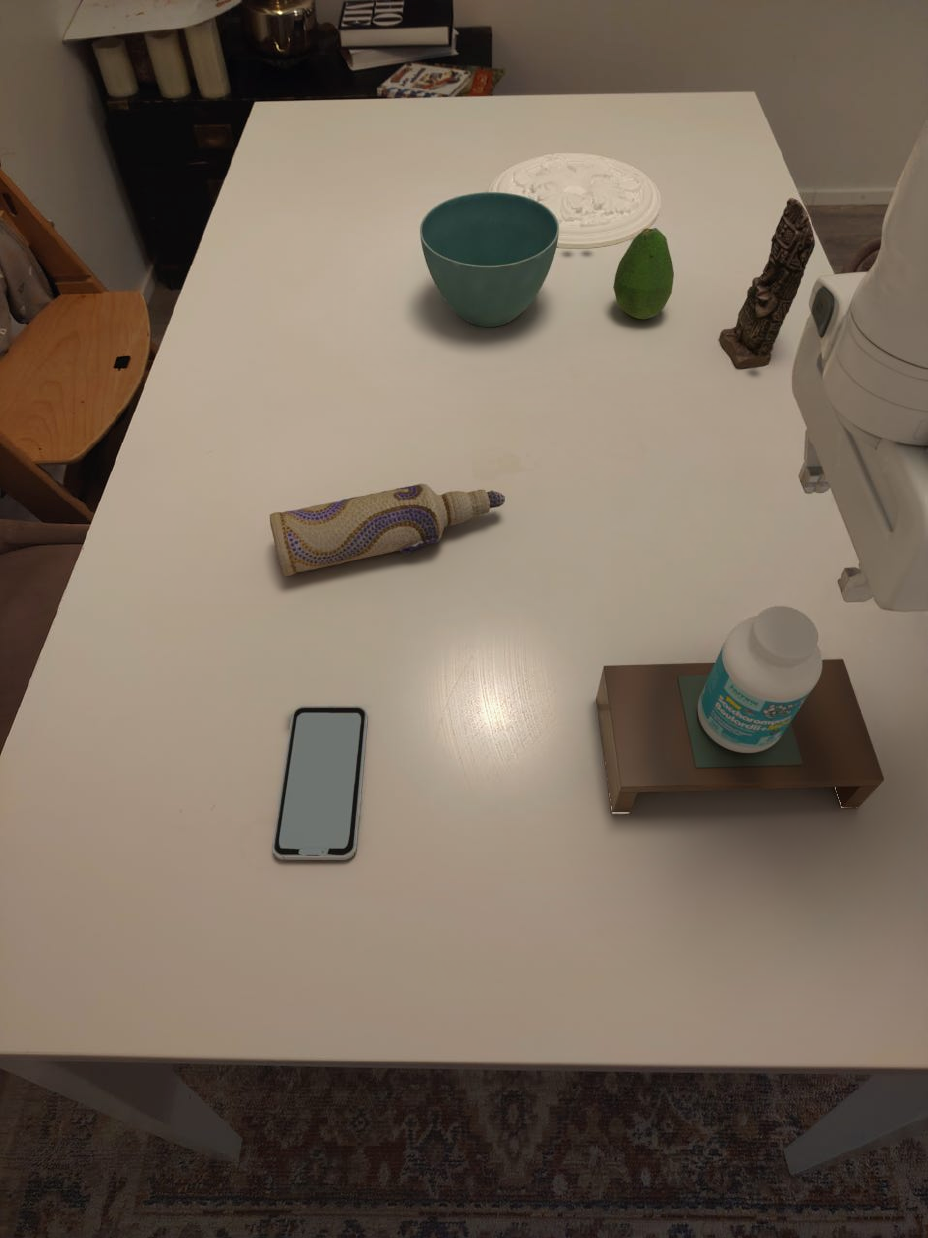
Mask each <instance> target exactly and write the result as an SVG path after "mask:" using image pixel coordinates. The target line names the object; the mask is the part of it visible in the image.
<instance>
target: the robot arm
mask: <svg viewBox="0 0 928 1238" xmlns="http://www.w3.org/2000/svg"><path fill="white" fill-rule="evenodd" d="M899 176H900V177H899V179H898V181H897V183H896V186H895V188H894V191H893V193H892V196H891V198H890V201H889V204H888V206H887V208H886V212H885V214H884V218H883V221H882V226H881V240H880V246H879V251H878V254H877V256H876V258H875V261H874V263H873V264H872V266H871V267H870V269H869V270H868V271H857V272H856V271H854V272H844V273H835V274H826V275H819V276H818V277H817V278H816V280H815V281H814V284H813V286H812V289H811V292H810V296H809V299H808V308H809V311H810V314H809V315H808V318H807V319H806V322H805V325H804V327H803V331H802V333H801V336H800V340H799V343H798V346H797V349H796V353H795V356H794V360H793V363H792V369H791V392H792V395H793V398H794V400H795V402H796V406H797V407H798V410H799V412H800V415H801V417H802V420H803V422H804V425H805V428H806V429H805V433H804V449H803V463H802V465H801V468H800V470H799V473H798V480H799V482H800V484H801V488H802V490H803V491H804V494H807V495H808V494H809V495H810V494H811V495H812V494H813V493H816V494H824V493H826V492H828V491H829V490H830V491H831V494H832V496H833V499H834V501H835V504H836V506H837V509H838V512H839V514H840V517H841V519H842V521H843V524H844V527H845V529H846V532H847V534H848V537H849V539H850V542H851V545H852V547H853V549H854V552H855V555H856V557H857V560H858V567H856V566H852V567H844V569H843V570H842V572H841V575H840V577H839V578H838V579H837V585H838V587H839V591H840V593H841V597H842V600H843V602H845V603H847V604H848V603H866V602H869V601H870V600H871V599H873V601H874V602H875V604H876V606H877V608H879V609H881V610H885V611H889V612H897V613H898V612H899V613H915V612H918V613H919V612H928V117H926V119H925V122H924V124H923V126H922V128H921V130H920V132H919V134H918V136H917V139H916V140H915V142H914V145H913V146H912V149H911V152H910V154H909V156H908V157H907V160H906V162H905V165H904V167H903V170H902V172H901V174H900V175H899Z"/></svg>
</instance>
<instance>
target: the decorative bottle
mask: <svg viewBox="0 0 928 1238" xmlns="http://www.w3.org/2000/svg"><path fill="white" fill-rule="evenodd" d="M505 502H506V496H505V495H503V493H501V492H498V491H495V490H490V491H487V490H486V489H477V490H472V491H469V492H465V491H460V490H454V491H447V492H445V493H443V494H437V493H436V492H435V491H434V490H433V489H432V488H431V487H430V485H428V484H426V483H418V484H413V485H410V486H404V487H397V488H395V489H390V490H384V491H380V492H376V493H370V494H366V495H360V496H355V497H354V496H353V497H350V498H345V499H344V498H343V499H341V500H337V501H333V502H332V501H331V502H326V503H321V504H315V505H311V506H308V507H307V506H306V507H302V508H299V509H294V510H286V511H282V512H281V511H275V512H272V513H270V514H269V526H270V530H271V533H272V539H273V542H274V545H275V550H276V553H277V558H278V561H279V565H280V569H281V570H282V573H283V575H284V576H293V575H295V574H296V573H301V572H307V571H311V570H312V571H313V570H316V569H321V568H326V567H329V566H330V567H331V566H333V565H340V564H344V563H348V562H353V561H357V560H362V559H366V558H371V557H375V556H382V555H385V554H390V553H393V552H401V553H402V554H410V553H412V552H415V551H416V550H418V549H420V548H421V547H424V546H428V545H431V544H434V543H437V542H439V541H440V540H441V539H442V536H443V532H444V530H445V528H446V527H447V526H454V525H459V524H462V523H464V522H466V521H467V520H469V519H471V518H473V517H476V516H482V515H486V514H489V513H490V511H491V509H494V508H499V507H501V506H503V505H504V503H505Z"/></svg>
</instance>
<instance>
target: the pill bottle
mask: <svg viewBox="0 0 928 1238" xmlns="http://www.w3.org/2000/svg"><path fill="white" fill-rule="evenodd" d="M818 644H819V632H818V629H817V627H816V625H815V623H814V622H813V620H812V619H811V618H809V616H808V615H806V614H805V613H803V612H802V611H800V610H798V609H796V608H793V607H789V606H784V605H783V606H782V605H777V606H776V605H775V606H771V607H768V608H766V609H764V610H762V611H761V612H759V614H757V615H755V616H751V617H749V618H746V619H744V620H742V621H741V622H739V623H738V624H736V625H734V627H733V628H732V629H731V630H730V631H729V633H728V634H727V636H726V638H725V640H724V642H723V644H722V646H721V649H720V651H719V653H718V656H717V658H716V660H715V662H714V663H715V664H714V667H713V669H712V671H711V673H710V675H709V677H708V680H707V682H706V684H705V686H704V688H703V691H702V693H701V695H700V698H699V701H698V716H699V720H700V723H701V725H702V727H703V728H704V730H705V732H706V733H707V734H708V735H709V736H710V737H711V738H712V739H713V740H714V741H715V742H716V743H718V744H719V745H721V746H723V747H725V748H727V749H729V750H732V751H735V752H741V753H755V752H760V751H763V750H765V749H768V748H769V747H771V746H772V745H774V744H775V743H776V742H777V741H778V740H779V739H780V737H781V736H782V734H783V733H784V731H785V730H786V728H787V727H788V725H789V724H790V722H791V721H792V719H793V718H794V716H795V715H796V713H797V712H798V710H799V709H800V707H801V706H802V704H803V703H804V701H805V700H806V698H807V697H808V695H809V694H810V692H811V691H812V689H813V688H814V686H815V685H816V683H817V682H818V680H819V677H820V675H821V671H822V660H823V656H822V653H821V649H820V648H819V645H818Z"/></svg>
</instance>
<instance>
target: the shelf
mask: <svg viewBox="0 0 928 1238" xmlns="http://www.w3.org/2000/svg"><path fill="white" fill-rule="evenodd" d="M714 664H715V662H687V663H686V662H685V663H653V664H652V663H651V664H618V665H617V664H616V665H615V664H614V665H603V667H602V672H601V675H600V680H599V685H598V689H597V694H596V698H595V699H596V704H597V705H596V707H597V714H599V715H598V722H599V721H600V723H599V729H600V728H601V730H600V736H601V735H602V738H601V744H602V743H603V745H602V750H603V749H604V753H603V757H604V756H605V761H604V763H605V762H606V768H605V771H606V770H607V776H606V779H607V778H608V783H607V786H608V785H609V791H608V794H609V793H610V798H609V800H610V799H611V806H612V812H630V813H631V811H632V808H633V806H634V803H635V800H636V797H637V795H638V793H661V792H694V791H695V792H696V791H700V792H701V791H728V790H729V791H731V790H766V789H771V790H772V789H801V788H802V789H804V788H807V789H808V788H834V787H836V791H837V794H838V797H839V800H840V802H841V806H842V807H859V808H860V807H861V806H862V805H863V803H864V802H866V801H867V799H868V798H869V797H870V796H871V795H872V794H873V793H874V792H875V791H876V790H877V789H878V788H879V787H880V785H882V783H883V782H884V781H885V777H884V775H883V771H882V768H881V765H880V762H879V760H878V757H877V754H876V751H875V748H874V745H873V742H872V739H871V735H870V733H869V730H868V728H867V725H866V722H865V718H864V715H863V713H862V710H861V707H860V704H859V701H858V698H857V696H856V695H857V694H856V692H855V689H854V687H853V686H854V685H853V684H852V680H851V678H850V675H849V671H848V669H847V666H846V663H845V661H844V659H843V658H830V659H822V671H821V675H820V677H819V680H818V682H817V683H816V685H815V686H814V688H813V689H812V691H811V692H810V694H809V695H808V697H807V698H806V700H805V701H804V703H803V704H802V706H801V707H800V709H799V710H798V712H797V713H796V715H795V716H794V718H793V719H792V721H791V722H790V724H789V725H788V727H787V728H786V730H785V731H784V733H783V734H782V736H781V737H780V739H779V740H778V741H777V742H776V743H775V744H774V745H772V746H771V747H769V748H768V749H765V750H763V751H760V752H755V753H741V752H735V751H732V750H729V749H727V748H725V747H723V746H721V745H719V744H718V743H716V742H715V741H714V740H713V739H712V738H711V737H710V736H709V735H708V734H707V733H706V732H705V730H704V728H703V727H702V725H701V723H700V720H699V716H698V701H699V698H700V695H701V693H702V691H703V688H704V686H705V684H706V682H707V680H708V677H709V675H710V673H711V671H712V669H713V667H714ZM834 791H835V790H834ZM836 791H835V793H836ZM611 806H610V807H611Z"/></svg>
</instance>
